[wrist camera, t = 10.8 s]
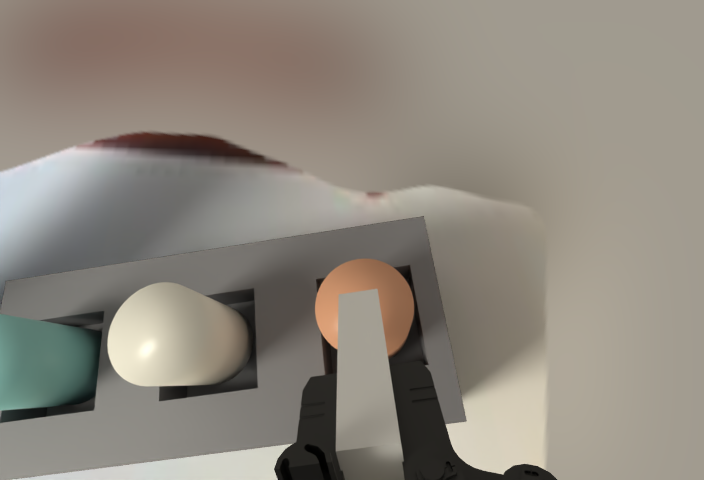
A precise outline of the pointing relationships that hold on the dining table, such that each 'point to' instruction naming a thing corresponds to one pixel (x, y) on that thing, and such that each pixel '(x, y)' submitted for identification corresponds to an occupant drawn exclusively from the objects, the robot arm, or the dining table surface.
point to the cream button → (177, 338)
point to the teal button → (46, 363)
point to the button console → (254, 379)
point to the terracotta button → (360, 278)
